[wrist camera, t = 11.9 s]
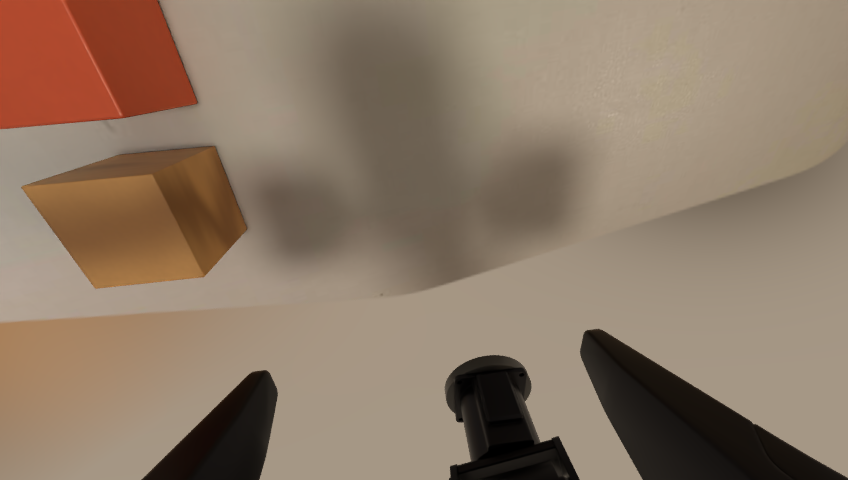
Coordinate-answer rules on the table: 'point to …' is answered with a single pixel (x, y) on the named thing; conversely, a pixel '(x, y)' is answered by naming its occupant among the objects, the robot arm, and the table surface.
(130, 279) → the beech block
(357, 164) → the table surface
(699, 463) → the robot arm
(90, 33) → the terracotta block
